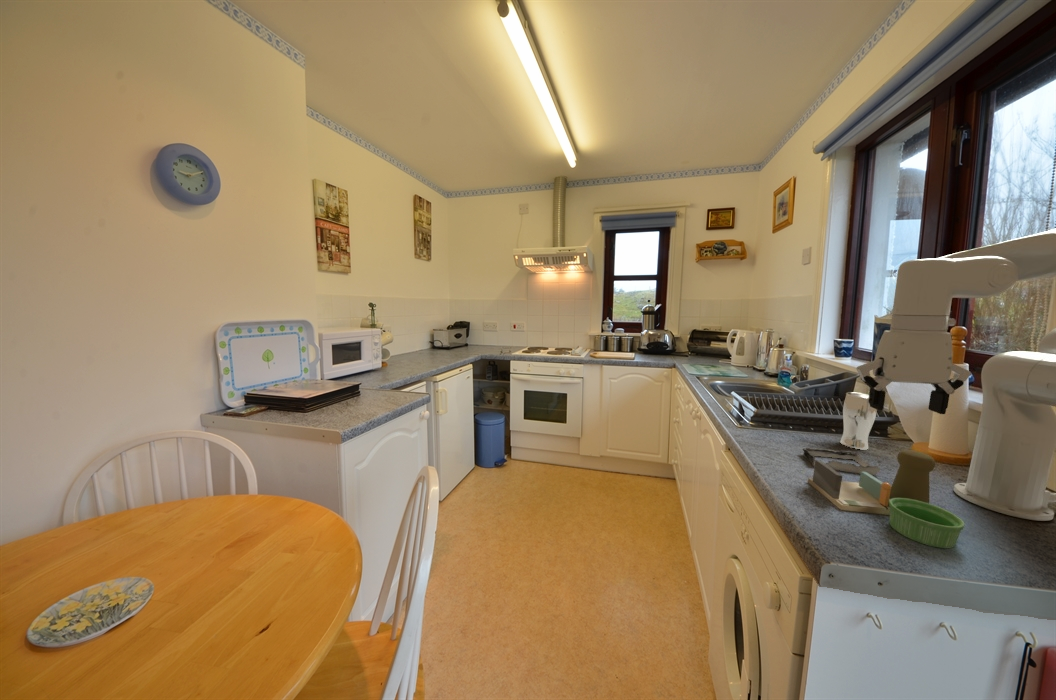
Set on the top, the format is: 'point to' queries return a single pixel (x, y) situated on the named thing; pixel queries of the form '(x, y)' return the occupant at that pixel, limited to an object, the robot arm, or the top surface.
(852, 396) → the beer glass
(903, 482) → the cork
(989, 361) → the robot arm
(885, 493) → the ball-ended orange rod
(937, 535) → the ramekin
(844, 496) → the stand
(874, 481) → the pad
